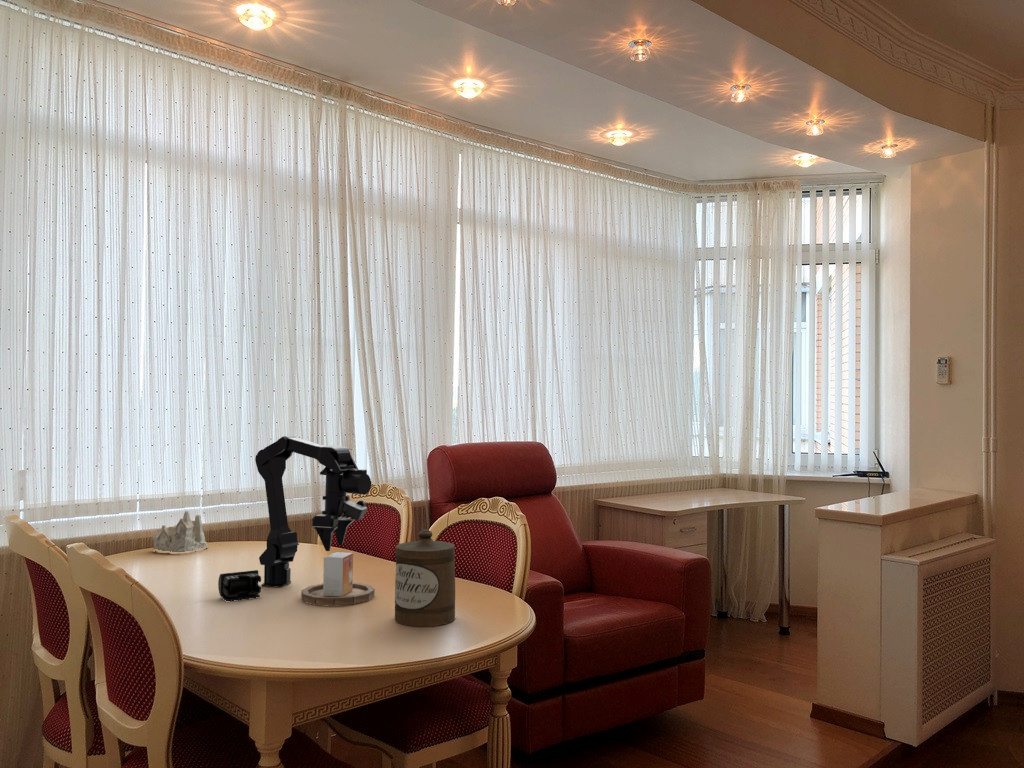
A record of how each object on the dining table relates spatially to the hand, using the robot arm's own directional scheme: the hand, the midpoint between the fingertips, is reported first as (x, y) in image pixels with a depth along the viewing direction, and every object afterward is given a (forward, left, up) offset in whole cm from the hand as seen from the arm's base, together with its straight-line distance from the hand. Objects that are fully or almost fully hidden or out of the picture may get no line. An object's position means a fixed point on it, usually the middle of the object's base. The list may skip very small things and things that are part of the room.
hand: (334, 548), depth 226 cm
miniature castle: (-77, +52, -13) cm, 94 cm away
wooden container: (+32, -21, -13) cm, 40 cm away
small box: (+3, -4, -12) cm, 13 cm away
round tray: (+3, -4, -13) cm, 13 cm away
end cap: (-23, -9, -13) cm, 28 cm away
